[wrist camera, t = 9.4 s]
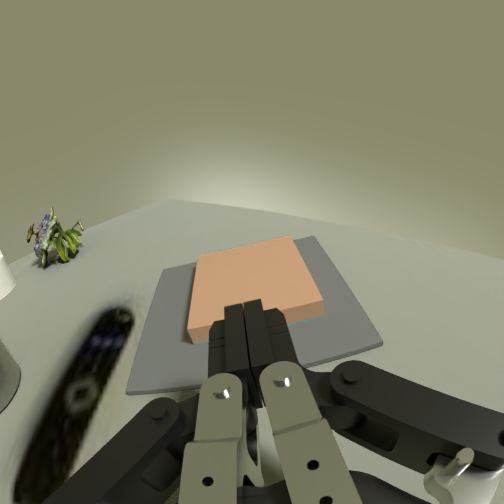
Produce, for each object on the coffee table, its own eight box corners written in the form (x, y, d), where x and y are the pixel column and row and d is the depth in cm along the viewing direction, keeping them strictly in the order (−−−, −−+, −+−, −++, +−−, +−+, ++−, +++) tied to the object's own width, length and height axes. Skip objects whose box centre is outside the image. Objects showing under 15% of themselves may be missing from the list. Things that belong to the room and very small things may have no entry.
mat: (128, 394, 18) (125, 391, 18) (164, 272, 34) (163, 269, 34) (382, 345, 18) (383, 341, 18) (314, 238, 34) (313, 235, 34)
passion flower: (58, 288, 50) (24, 247, 48) (93, 254, 57) (59, 216, 55) (53, 271, 41) (15, 223, 39) (96, 231, 48) (58, 188, 46)
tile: (187, 329, 21) (198, 255, 32) (194, 344, 21) (202, 268, 32) (323, 299, 21) (290, 235, 31) (324, 316, 21) (292, 248, 32)
